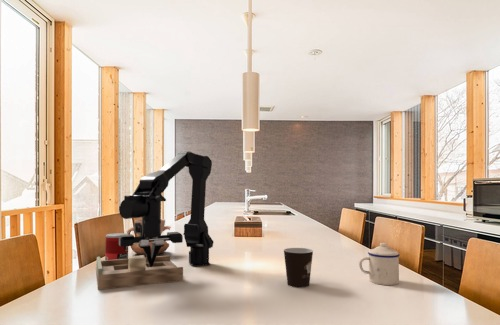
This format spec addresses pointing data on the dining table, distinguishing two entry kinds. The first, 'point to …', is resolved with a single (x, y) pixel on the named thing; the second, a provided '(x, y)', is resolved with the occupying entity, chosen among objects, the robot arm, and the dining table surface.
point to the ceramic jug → (140, 250)
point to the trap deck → (136, 273)
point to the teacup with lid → (382, 265)
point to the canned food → (115, 247)
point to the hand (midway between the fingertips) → (150, 266)
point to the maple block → (136, 263)
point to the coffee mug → (298, 266)
